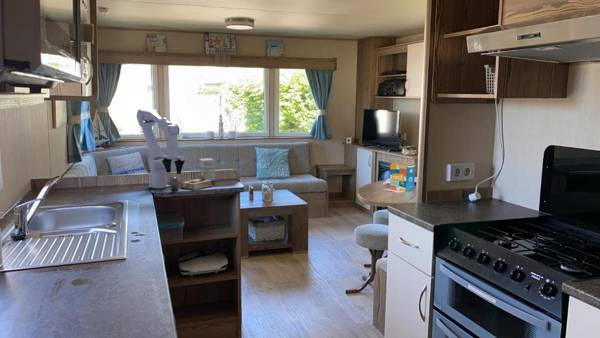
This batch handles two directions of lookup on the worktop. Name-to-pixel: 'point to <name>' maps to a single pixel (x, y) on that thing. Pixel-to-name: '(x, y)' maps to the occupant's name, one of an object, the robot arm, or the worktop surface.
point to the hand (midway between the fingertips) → (173, 173)
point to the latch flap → (201, 177)
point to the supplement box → (207, 168)
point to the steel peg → (174, 184)
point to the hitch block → (196, 184)
